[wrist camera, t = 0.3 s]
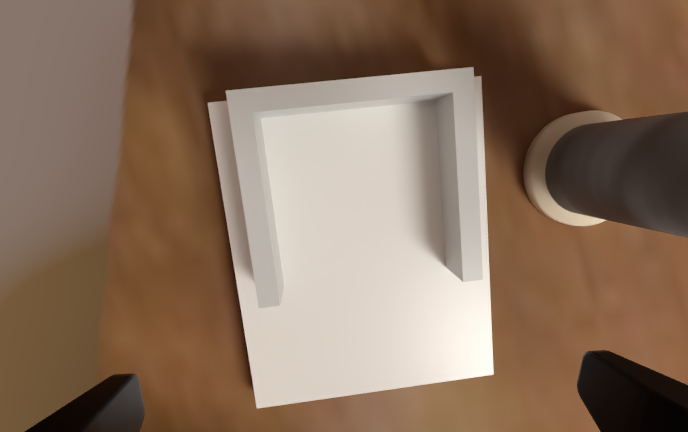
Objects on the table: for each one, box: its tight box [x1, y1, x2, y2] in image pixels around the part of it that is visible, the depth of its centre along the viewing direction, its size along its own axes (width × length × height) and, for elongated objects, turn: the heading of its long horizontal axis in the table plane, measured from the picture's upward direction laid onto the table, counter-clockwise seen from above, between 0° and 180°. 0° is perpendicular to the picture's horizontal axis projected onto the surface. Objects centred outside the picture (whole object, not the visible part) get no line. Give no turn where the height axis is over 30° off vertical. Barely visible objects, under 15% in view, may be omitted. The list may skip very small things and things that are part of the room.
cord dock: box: [208, 67, 493, 408], centre depth 19 cm, size 17×14×4 cm
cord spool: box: [523, 110, 688, 238], centre depth 15 cm, size 6×6×13 cm
